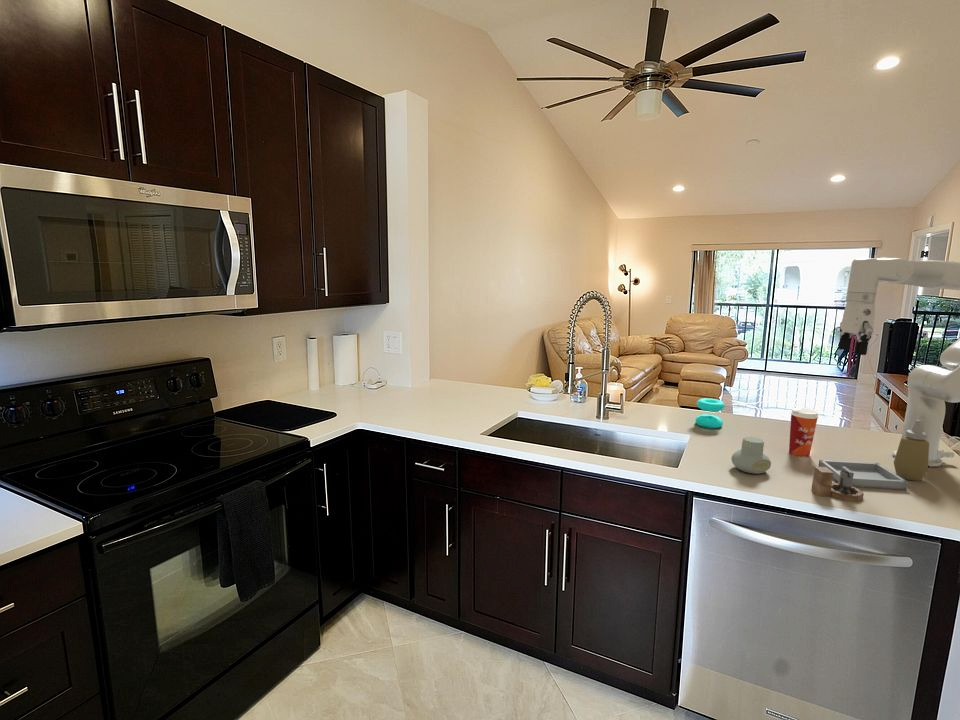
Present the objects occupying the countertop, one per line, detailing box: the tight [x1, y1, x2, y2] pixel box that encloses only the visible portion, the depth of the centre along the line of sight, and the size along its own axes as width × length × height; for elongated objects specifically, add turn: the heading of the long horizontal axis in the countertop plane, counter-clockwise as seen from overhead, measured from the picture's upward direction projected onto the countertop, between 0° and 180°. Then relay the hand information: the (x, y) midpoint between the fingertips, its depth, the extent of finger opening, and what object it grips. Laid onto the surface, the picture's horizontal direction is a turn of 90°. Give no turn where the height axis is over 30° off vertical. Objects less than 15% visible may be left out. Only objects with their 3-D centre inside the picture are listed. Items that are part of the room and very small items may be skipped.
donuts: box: [695, 397, 726, 429], centre depth 204 cm, size 10×10×10 cm
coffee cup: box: [788, 407, 820, 457], centre depth 175 cm, size 8×8×15 cm
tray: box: [817, 459, 909, 491], centre depth 156 cm, size 17×14×2 cm
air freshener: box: [731, 436, 772, 475], centre depth 161 cm, size 11×8×10 cm
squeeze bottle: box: [893, 420, 929, 482], centre depth 156 cm, size 8×8×18 cm
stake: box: [837, 466, 854, 494], centre depth 145 cm, size 3×4×7 cm
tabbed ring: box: [811, 466, 864, 502], centre depth 145 cm, size 12×8×7 cm
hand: (851, 351), depth 166 cm, fingers open, 9 cm apart
